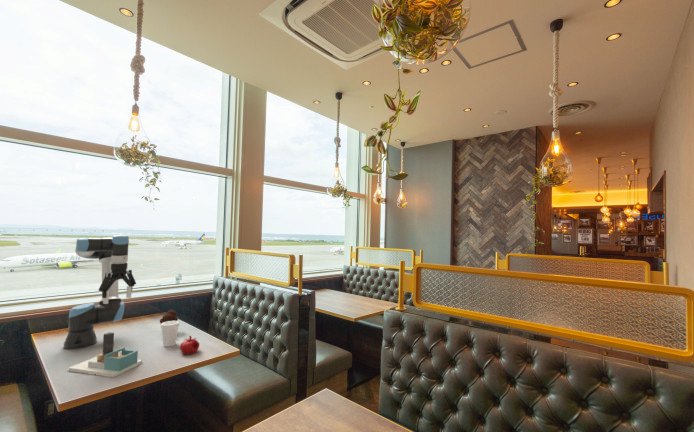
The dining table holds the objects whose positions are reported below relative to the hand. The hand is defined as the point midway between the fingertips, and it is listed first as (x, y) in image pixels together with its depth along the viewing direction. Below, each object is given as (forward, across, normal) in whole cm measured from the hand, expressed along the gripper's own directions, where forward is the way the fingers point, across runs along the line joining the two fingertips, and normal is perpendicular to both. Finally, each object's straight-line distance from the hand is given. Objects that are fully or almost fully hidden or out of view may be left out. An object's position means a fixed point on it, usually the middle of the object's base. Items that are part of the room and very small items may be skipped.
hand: (117, 300), depth 174 cm
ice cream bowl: (+31, +36, -2) cm, 47 cm away
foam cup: (+30, +19, -18) cm, 40 cm away
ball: (+25, -14, -20) cm, 35 cm away
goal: (+28, -14, -20) cm, 37 cm away
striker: (+27, -14, -12) cm, 33 cm away
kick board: (+29, -14, -12) cm, 34 cm away
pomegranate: (+29, +13, -38) cm, 50 cm away
